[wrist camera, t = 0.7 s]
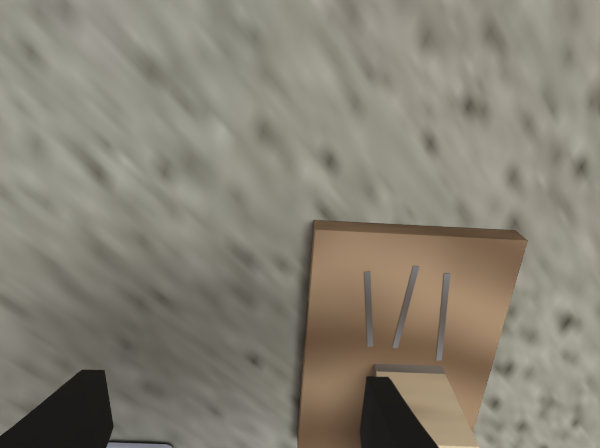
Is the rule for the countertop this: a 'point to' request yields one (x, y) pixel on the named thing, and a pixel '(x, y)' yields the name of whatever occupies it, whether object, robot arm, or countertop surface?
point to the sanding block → (431, 402)
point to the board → (400, 315)
